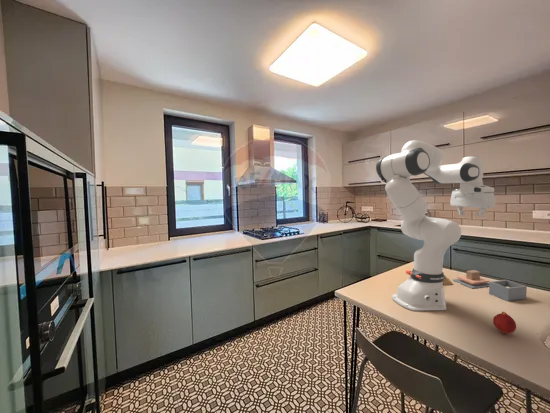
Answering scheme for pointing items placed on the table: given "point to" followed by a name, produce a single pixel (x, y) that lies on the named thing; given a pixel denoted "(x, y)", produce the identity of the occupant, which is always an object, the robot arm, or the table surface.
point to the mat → (471, 285)
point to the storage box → (507, 290)
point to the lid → (473, 278)
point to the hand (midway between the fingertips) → (470, 215)
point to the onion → (504, 323)
